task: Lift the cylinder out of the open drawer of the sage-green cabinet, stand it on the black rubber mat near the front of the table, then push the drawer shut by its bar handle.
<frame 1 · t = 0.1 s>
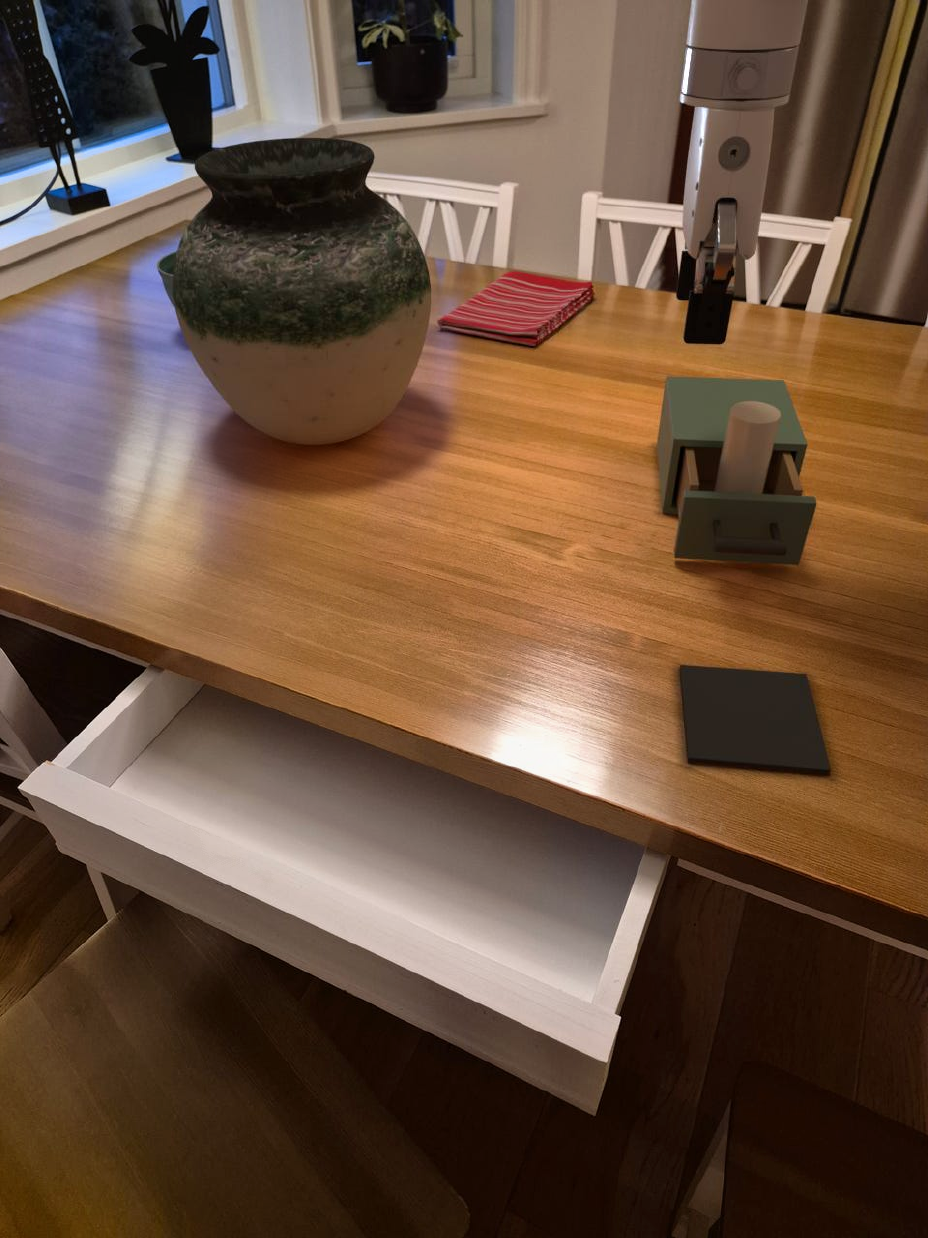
hand: (698, 319, 69), 22 cm above the table, tool pointing down, fingers open, 9 cm apart
vase: (324, 426, 104), on the table
cylinder: (731, 520, 82), point 2 cm above the table, touching drawer
drawer: (737, 504, 80), point 4 cm above the table, slide at 8.0 cm, touching cylinder
cabinet: (717, 480, 91), on the table
mat: (749, 719, 64), on the table
flower pot: (229, 333, 129), on the table
dish towel: (519, 314, 132), on the table
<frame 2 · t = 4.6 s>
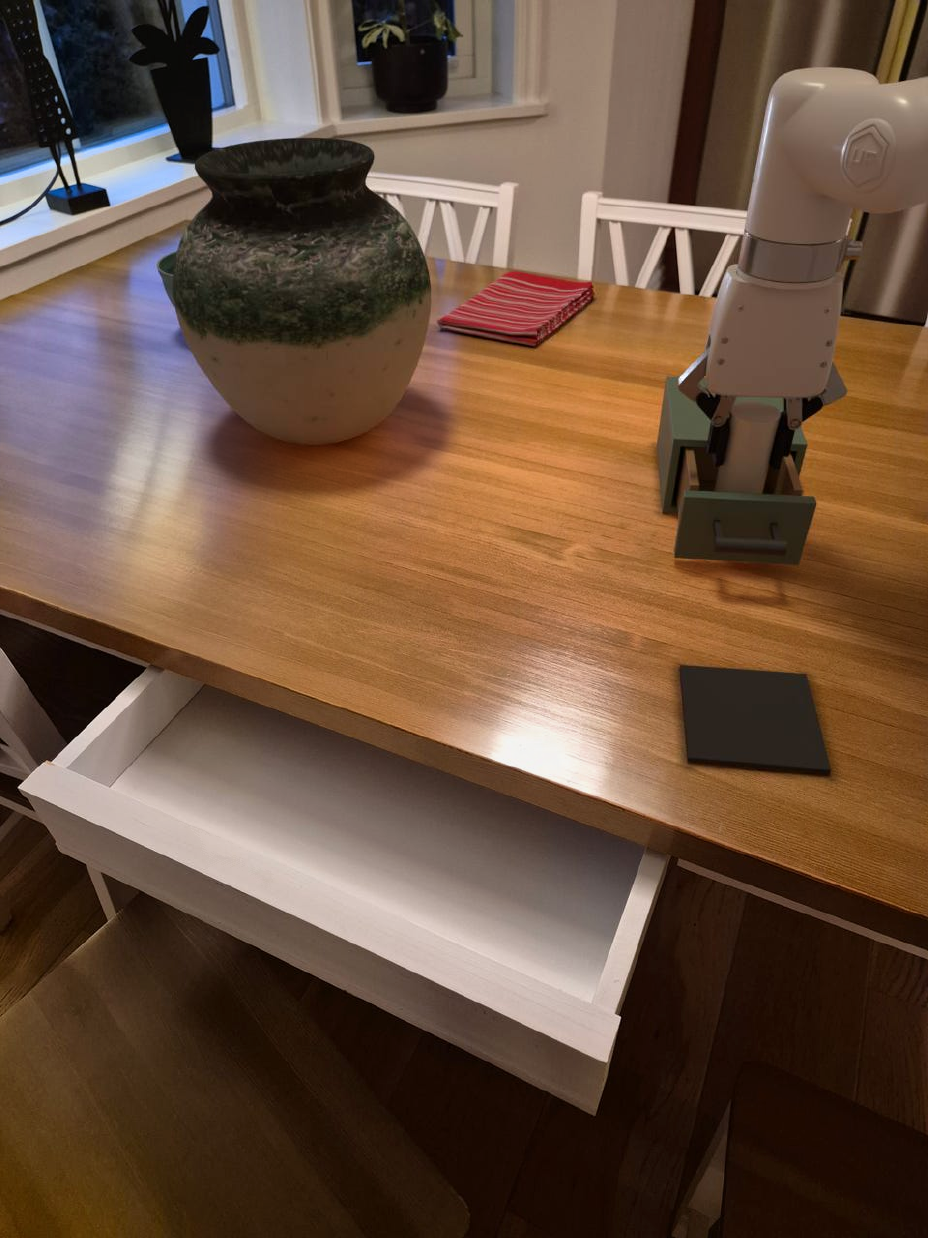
hand: (745, 458, 77), 9 cm above the table, tool pointing down, fingers closed on cylinder, 4 cm apart
cylinder: (731, 520, 82), point 2 cm above the table, touching drawer, gripper
everything else where it was.
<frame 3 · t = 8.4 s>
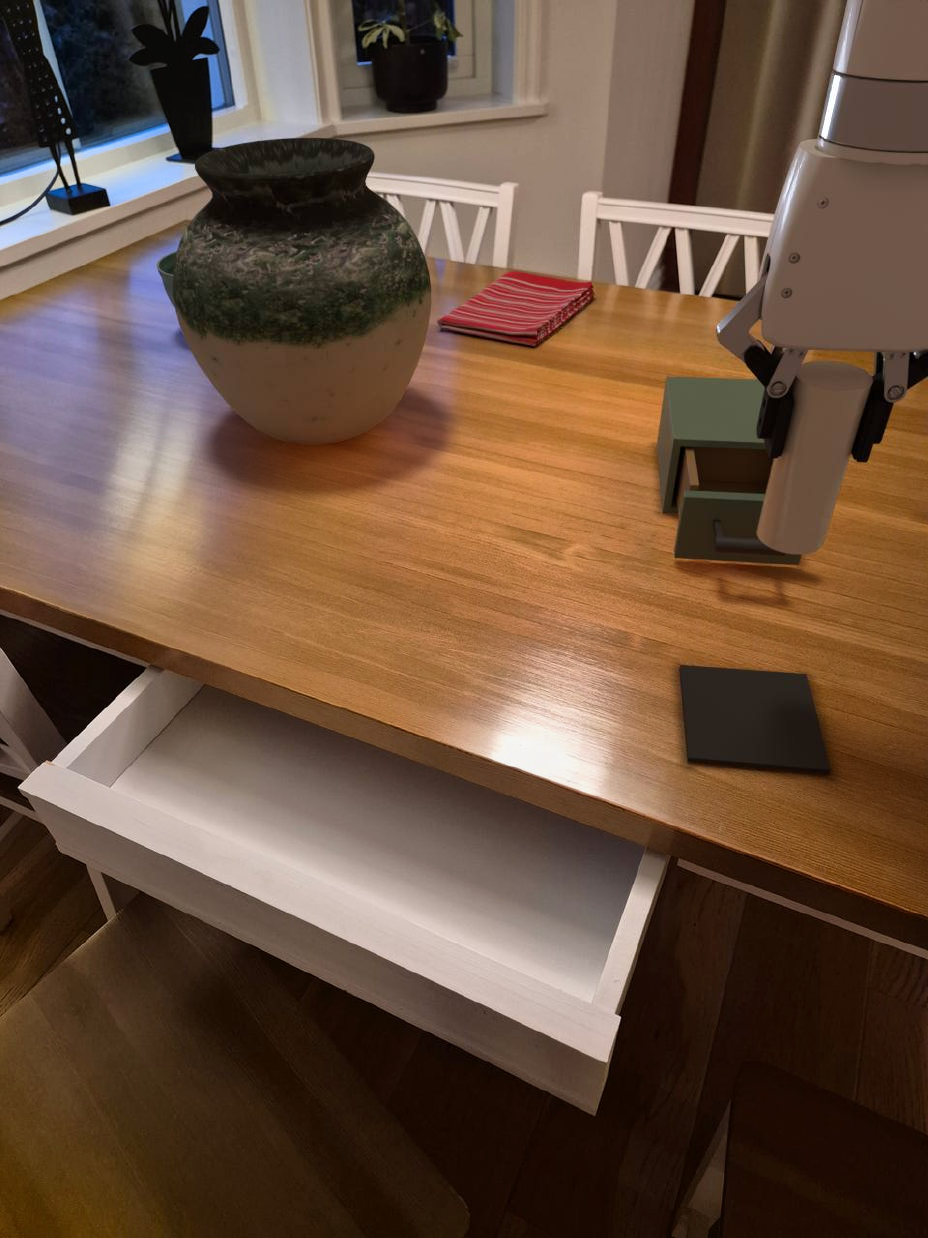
hand: (813, 447, 52), 22 cm above the table, tool pointing down, fingers closed on cylinder, 4 cm apart
cylinder: (789, 536, 57), point 15 cm above the table, touching gripper
drawer: (737, 504, 80), point 4 cm above the table, slide at 8.0 cm
everything else where it was.
when the fingers open (7 cm above the table, at t = 12.2 s): cylinder stays where it is, resting on mat.
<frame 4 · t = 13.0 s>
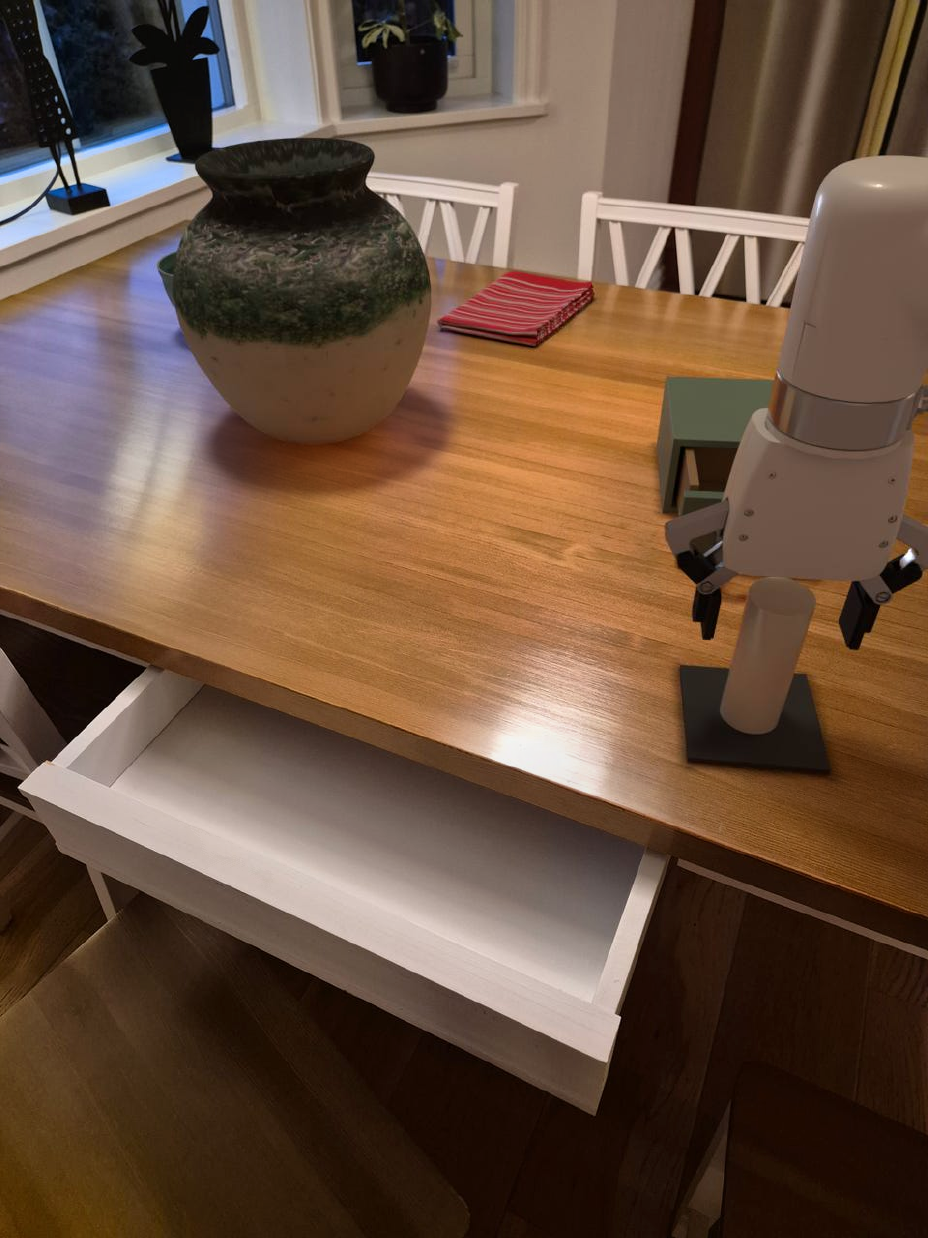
hand: (775, 632, 58), 9 cm above the table, tool pointing down, fingers open, 9 cm apart
cylinder: (749, 713, 64), point 1 cm above the table, touching mat
everything else where it was.
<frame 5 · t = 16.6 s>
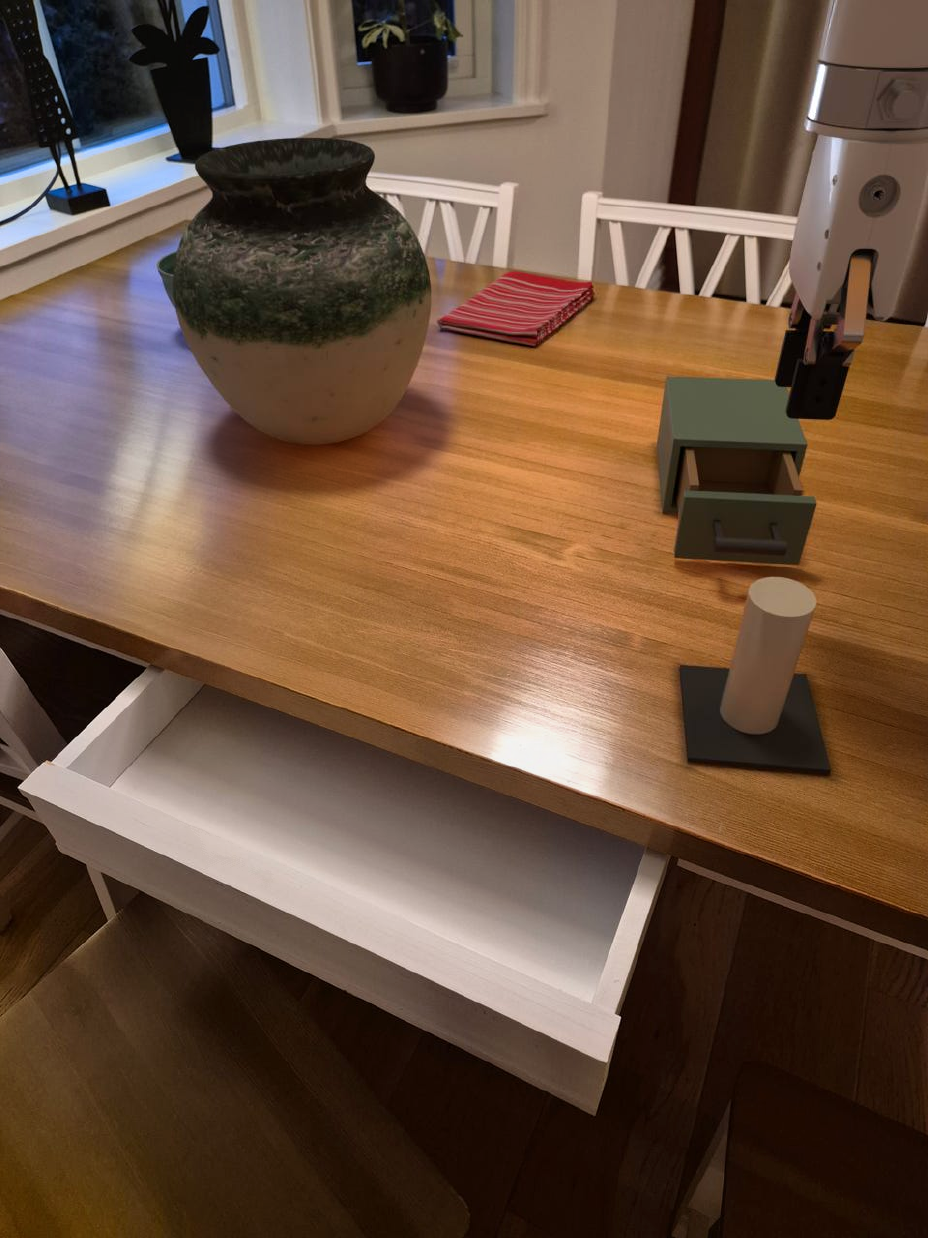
hand: (803, 398, 59), 21 cm above the table, tool pointing down, fingers open, 4 cm apart
nothing on the table moved.
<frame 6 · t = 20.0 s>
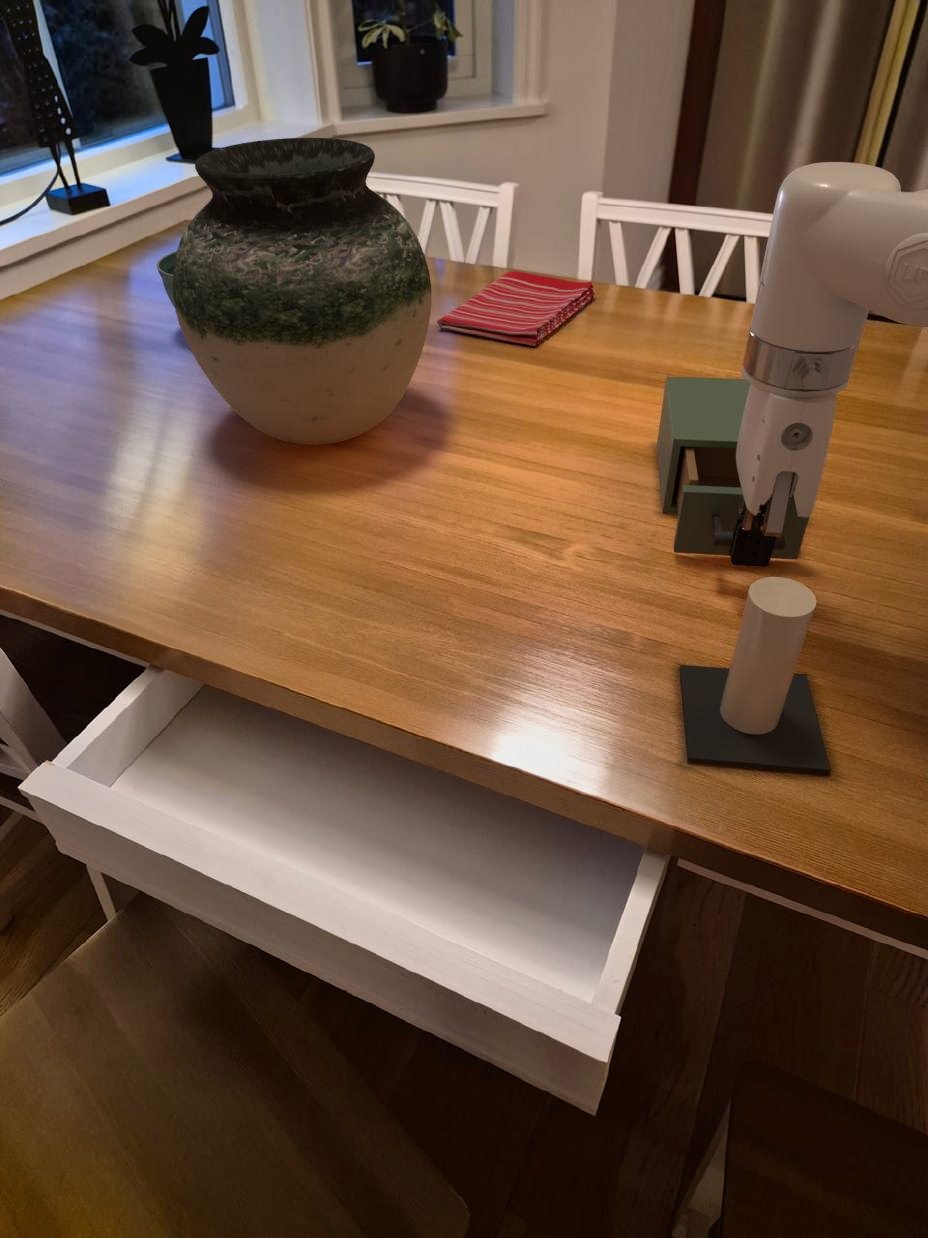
hand: (748, 560, 72), 5 cm above the table, tool pointing down, fingers closed
drawer: (736, 499, 80), point 4 cm above the table, slide at 7.1 cm, touching gripper
everything else where it was.
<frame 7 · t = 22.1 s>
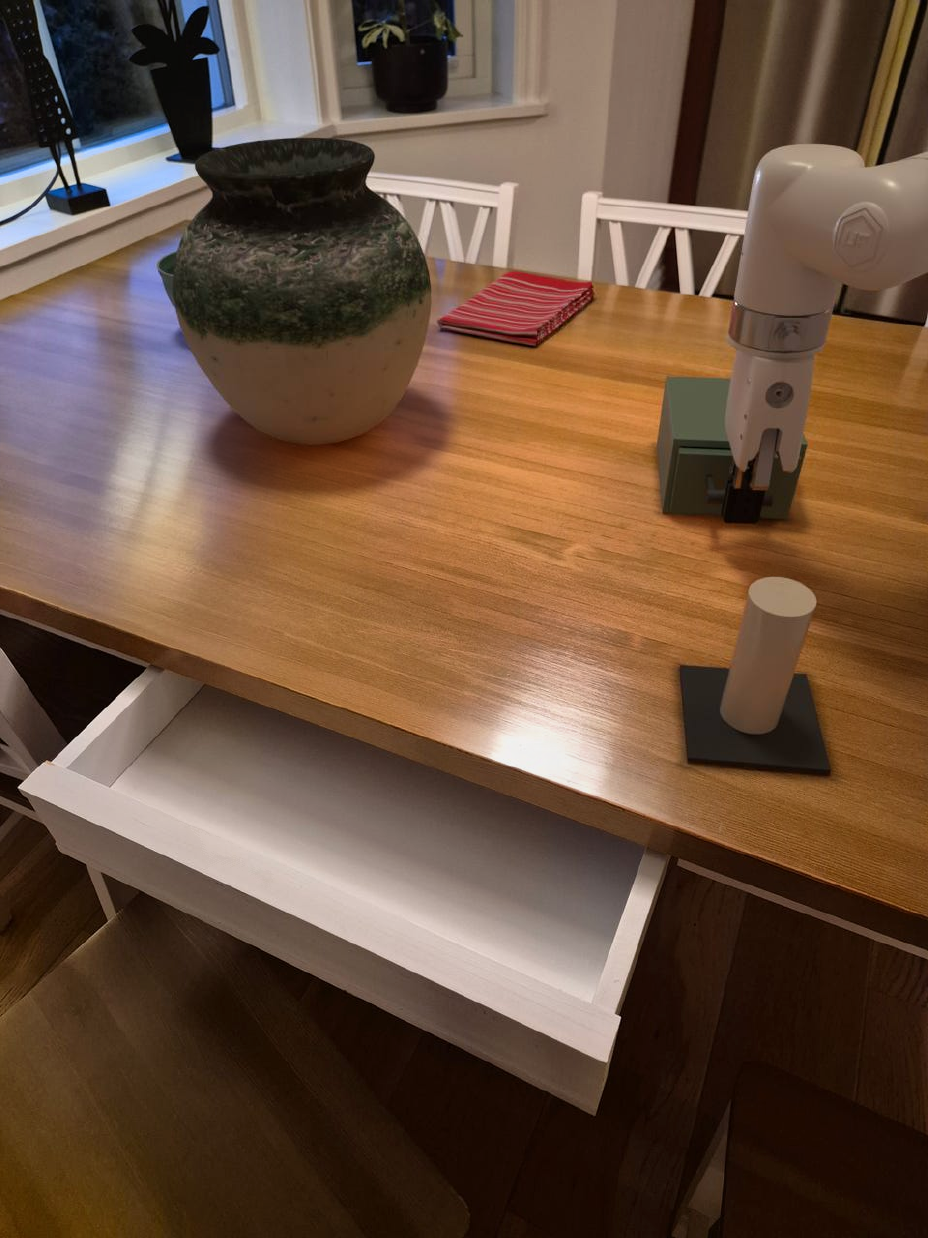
hand: (739, 518, 78), 4 cm above the table, tool pointing down, fingers closed
drawer: (728, 463, 86), point 4 cm above the table, slide at 0.0 cm, touching cabinet, gripper
everything else where it was.
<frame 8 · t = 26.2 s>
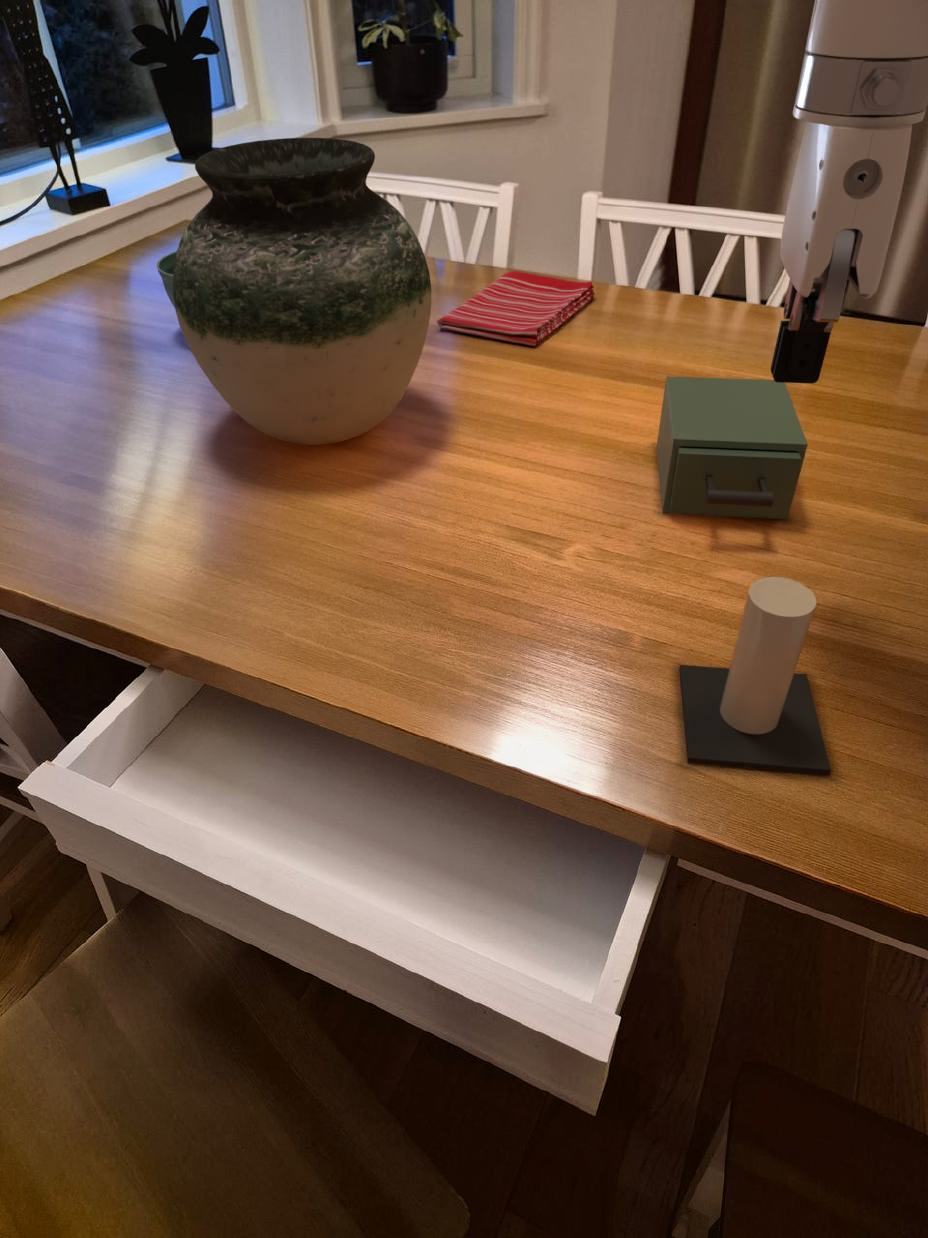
hand: (793, 377, 62), 21 cm above the table, tool pointing down, fingers closed
drawer: (728, 463, 86), point 4 cm above the table, slide at 0.0 cm, touching cabinet
everything else where it was.
at the end: cylinder inside the target area on the mat (0.1 cm from its centre), point 0.6 cm above the mat's base; cylinder tilted 0°; drawer slide at 0.0 cm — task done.
